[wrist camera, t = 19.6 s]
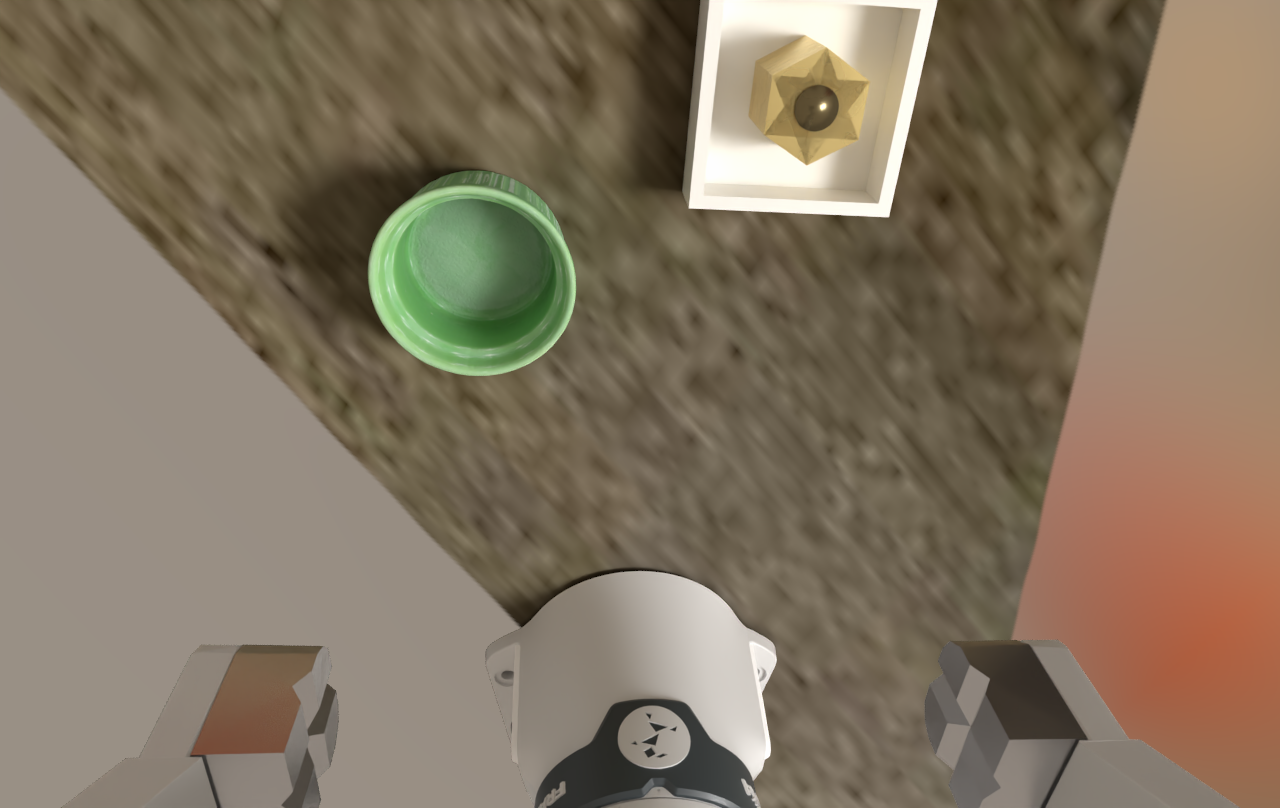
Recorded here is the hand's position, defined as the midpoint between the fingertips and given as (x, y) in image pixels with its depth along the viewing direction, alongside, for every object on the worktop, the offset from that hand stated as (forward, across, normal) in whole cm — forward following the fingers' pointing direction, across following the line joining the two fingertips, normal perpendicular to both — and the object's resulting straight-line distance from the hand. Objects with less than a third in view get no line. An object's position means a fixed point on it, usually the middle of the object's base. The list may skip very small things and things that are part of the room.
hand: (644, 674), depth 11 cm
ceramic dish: (+31, -9, -2) cm, 32 cm away
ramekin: (+31, +5, +6) cm, 32 cm away
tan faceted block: (+31, -9, -2) cm, 32 cm away
